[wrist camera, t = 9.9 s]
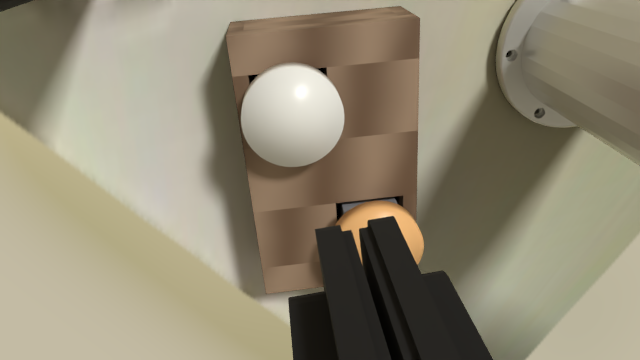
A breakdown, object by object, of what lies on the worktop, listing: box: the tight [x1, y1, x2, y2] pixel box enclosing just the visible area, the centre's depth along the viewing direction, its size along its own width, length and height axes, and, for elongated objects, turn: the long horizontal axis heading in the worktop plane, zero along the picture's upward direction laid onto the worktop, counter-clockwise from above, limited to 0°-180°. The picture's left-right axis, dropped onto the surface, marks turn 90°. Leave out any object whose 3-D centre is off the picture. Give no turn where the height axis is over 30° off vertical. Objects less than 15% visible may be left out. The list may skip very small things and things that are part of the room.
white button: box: [241, 62, 344, 167], centre depth 34 cm, size 6×6×7 cm
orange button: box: [335, 197, 424, 266], centre depth 38 cm, size 6×6×7 cm
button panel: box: [226, 6, 420, 294], centre depth 38 cm, size 12×20×5 cm, turn 4°
